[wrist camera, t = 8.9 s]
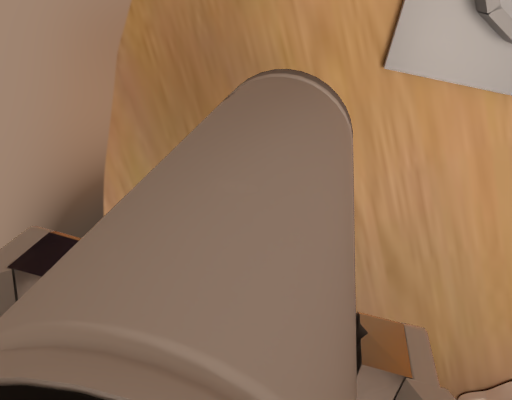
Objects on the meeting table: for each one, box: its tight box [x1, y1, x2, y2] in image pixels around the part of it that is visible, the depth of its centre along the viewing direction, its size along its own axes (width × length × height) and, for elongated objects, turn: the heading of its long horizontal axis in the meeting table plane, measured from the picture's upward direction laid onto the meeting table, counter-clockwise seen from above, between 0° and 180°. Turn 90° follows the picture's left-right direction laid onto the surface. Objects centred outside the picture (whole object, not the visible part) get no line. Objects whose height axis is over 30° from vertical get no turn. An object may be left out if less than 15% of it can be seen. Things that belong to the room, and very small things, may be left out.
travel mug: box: [0, 69, 357, 400], centre depth 11 cm, size 6×7×20 cm
